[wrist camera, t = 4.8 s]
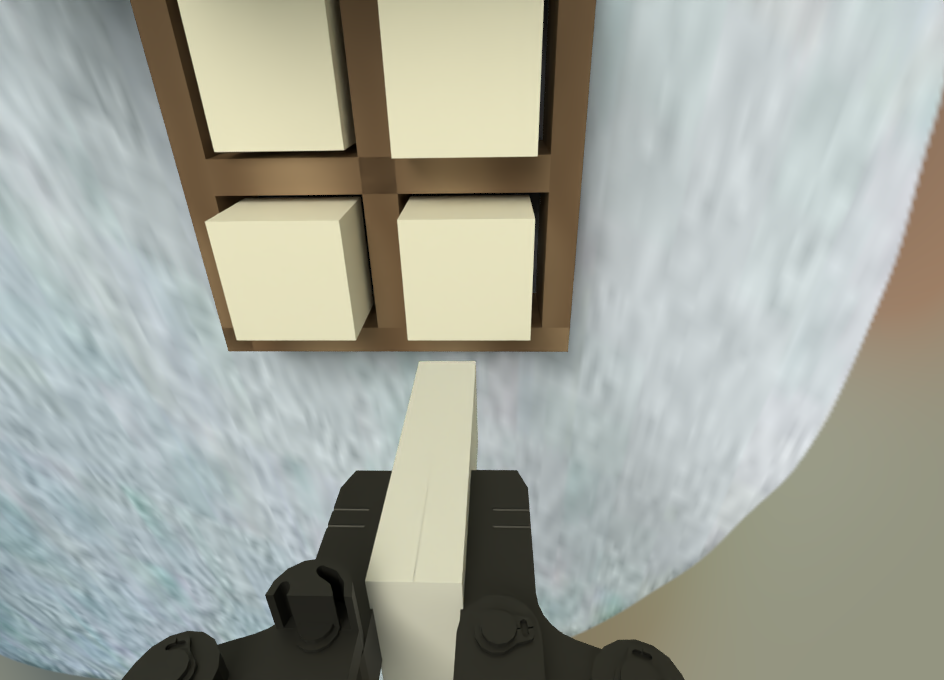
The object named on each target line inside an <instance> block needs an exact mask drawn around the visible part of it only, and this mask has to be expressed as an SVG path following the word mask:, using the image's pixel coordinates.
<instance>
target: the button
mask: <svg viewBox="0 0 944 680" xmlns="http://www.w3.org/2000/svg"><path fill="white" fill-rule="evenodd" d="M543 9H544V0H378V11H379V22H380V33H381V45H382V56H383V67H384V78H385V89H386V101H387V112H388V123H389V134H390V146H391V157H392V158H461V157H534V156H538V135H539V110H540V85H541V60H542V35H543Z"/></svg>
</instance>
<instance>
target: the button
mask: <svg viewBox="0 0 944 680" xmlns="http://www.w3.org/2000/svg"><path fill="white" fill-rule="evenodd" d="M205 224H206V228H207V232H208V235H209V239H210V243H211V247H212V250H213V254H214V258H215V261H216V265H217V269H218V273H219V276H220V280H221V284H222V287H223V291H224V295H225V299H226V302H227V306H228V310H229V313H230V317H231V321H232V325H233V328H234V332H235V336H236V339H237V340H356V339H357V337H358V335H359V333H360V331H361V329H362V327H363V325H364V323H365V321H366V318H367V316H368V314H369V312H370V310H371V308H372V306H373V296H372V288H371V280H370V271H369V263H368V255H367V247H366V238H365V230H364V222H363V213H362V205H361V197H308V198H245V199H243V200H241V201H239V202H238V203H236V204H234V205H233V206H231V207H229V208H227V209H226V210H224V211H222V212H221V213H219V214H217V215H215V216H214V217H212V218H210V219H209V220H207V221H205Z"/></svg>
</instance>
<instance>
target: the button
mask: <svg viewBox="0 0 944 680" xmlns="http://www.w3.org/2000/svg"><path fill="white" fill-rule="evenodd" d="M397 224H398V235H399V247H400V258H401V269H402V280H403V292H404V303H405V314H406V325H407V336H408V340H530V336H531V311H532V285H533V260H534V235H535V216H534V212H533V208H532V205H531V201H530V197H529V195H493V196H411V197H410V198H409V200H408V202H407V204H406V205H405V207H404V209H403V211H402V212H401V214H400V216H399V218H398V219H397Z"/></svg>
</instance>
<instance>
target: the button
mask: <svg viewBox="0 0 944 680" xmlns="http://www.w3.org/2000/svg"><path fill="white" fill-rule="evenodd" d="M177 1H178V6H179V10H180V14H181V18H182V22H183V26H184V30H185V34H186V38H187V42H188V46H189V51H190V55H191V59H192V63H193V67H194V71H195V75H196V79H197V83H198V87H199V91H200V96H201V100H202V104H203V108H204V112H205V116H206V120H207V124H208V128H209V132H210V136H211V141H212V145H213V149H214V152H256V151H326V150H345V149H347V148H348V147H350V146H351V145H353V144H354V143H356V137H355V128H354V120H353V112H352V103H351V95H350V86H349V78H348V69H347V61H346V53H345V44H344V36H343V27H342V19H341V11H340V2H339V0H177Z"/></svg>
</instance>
